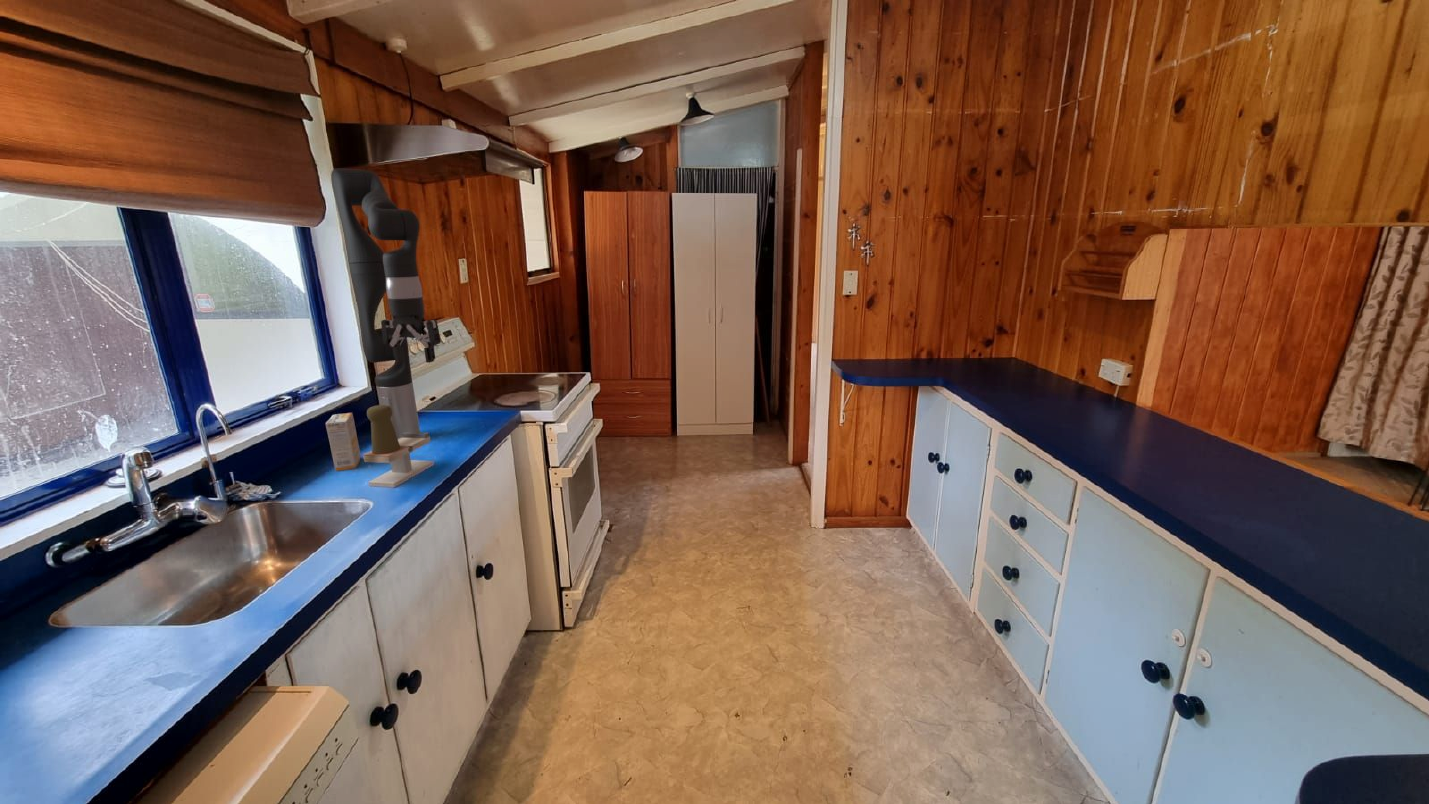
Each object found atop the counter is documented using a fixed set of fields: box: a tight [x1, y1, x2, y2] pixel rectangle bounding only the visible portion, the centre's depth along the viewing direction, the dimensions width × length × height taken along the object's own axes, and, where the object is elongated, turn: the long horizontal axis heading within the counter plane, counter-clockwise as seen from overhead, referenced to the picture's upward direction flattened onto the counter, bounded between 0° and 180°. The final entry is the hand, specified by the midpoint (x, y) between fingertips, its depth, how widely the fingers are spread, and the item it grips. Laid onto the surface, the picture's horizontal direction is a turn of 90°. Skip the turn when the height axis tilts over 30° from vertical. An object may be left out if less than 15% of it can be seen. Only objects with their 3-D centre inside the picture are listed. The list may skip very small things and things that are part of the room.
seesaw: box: [362, 431, 431, 464], centre depth 140 cm, size 7×15×2 cm, turn 170°
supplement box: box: [325, 412, 362, 472], centre depth 148 cm, size 8×5×13 cm, turn 22°
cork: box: [366, 404, 400, 455], centre depth 135 cm, size 6×6×11 cm
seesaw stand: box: [367, 453, 435, 488], centre depth 141 cm, size 7×15×6 cm, turn 170°
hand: (415, 361), depth 142 cm, fingers open, 8 cm apart
